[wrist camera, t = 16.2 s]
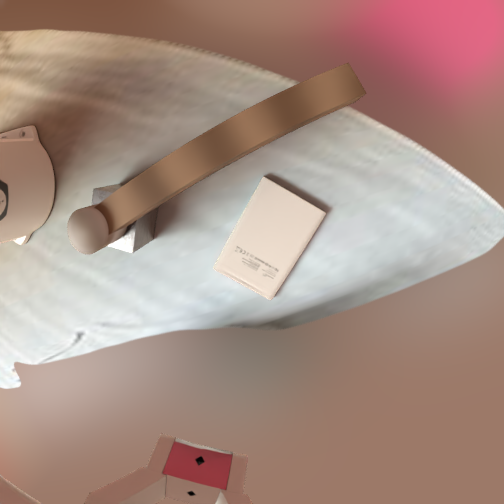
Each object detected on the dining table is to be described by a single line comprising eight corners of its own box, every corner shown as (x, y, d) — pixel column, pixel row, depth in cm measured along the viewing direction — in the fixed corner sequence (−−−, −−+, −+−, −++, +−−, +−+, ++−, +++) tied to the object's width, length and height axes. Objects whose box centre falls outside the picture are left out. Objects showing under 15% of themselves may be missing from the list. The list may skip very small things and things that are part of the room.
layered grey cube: (113, 229, 38) (88, 240, 32) (118, 184, 36) (93, 188, 30) (153, 239, 38) (132, 253, 32) (160, 192, 36) (139, 198, 30)
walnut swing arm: (106, 248, 32) (81, 261, 27) (87, 213, 31) (60, 223, 26) (358, 108, 26) (373, 98, 21) (336, 69, 25) (346, 52, 20)
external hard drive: (324, 211, 36) (271, 296, 39) (263, 175, 35) (214, 264, 39) (326, 213, 34) (271, 301, 38) (263, 176, 34) (211, 268, 37)
